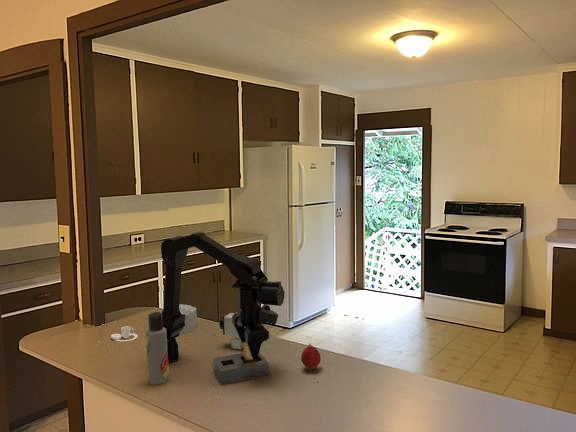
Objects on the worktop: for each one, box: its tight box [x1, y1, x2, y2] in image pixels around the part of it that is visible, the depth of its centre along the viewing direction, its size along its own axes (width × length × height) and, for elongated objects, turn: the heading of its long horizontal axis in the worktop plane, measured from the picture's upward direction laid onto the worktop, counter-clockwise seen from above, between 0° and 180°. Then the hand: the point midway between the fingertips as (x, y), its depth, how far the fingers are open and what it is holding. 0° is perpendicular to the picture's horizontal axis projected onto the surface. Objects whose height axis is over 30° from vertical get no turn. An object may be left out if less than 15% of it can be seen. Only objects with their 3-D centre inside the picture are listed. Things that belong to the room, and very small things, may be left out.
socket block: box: [212, 351, 270, 386], centre depth 145 cm, size 14×10×4 cm
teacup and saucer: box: [110, 325, 138, 343], centre depth 177 cm, size 9×8×4 cm
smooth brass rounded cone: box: [243, 341, 258, 364], centre depth 146 cm, size 4×4×9 cm
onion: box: [300, 343, 322, 371], centre depth 146 cm, size 6×6×8 cm
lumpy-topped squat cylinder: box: [179, 303, 198, 336], centre depth 184 cm, size 10×13×9 cm
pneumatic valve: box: [219, 312, 244, 350], centre depth 165 cm, size 6×12×12 cm, turn 66°
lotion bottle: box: [145, 311, 170, 386], centre depth 141 cm, size 6×6×20 cm
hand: (250, 353), depth 146 cm, fingers open, 9 cm apart
